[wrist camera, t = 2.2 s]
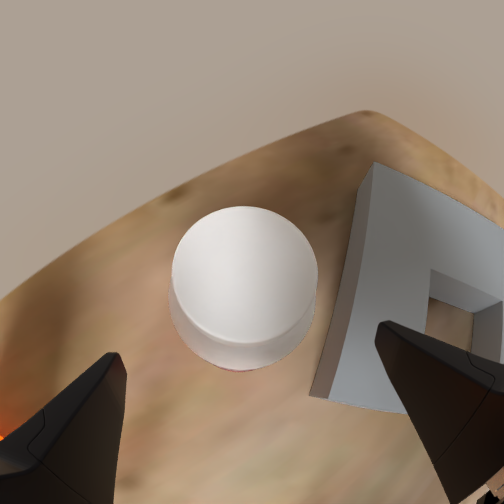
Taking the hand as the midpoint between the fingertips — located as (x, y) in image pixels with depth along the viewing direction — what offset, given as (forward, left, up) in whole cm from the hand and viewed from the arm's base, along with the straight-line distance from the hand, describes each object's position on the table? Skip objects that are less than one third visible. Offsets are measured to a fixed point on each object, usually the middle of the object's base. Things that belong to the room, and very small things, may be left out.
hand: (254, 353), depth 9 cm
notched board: (+8, -15, -10) cm, 20 cm away
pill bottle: (+2, +1, -10) cm, 10 cm away
